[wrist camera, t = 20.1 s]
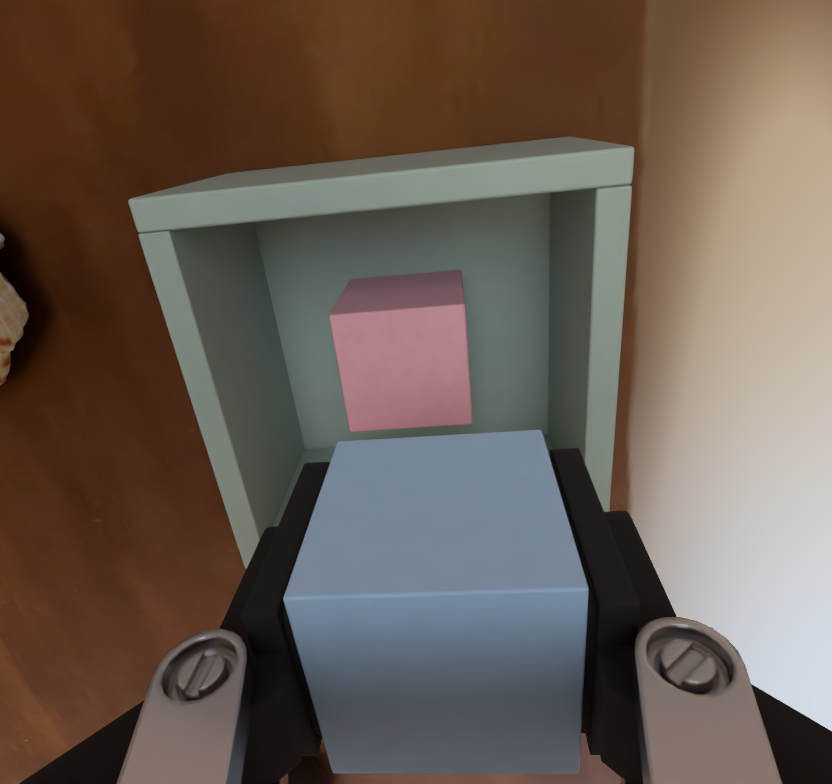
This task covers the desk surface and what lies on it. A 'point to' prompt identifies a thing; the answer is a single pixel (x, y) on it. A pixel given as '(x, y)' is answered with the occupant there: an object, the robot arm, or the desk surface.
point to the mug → (307, 773)
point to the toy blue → (442, 608)
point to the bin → (389, 256)
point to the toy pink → (403, 351)
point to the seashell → (9, 320)
